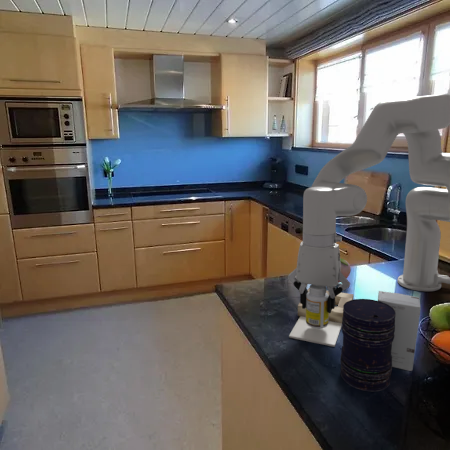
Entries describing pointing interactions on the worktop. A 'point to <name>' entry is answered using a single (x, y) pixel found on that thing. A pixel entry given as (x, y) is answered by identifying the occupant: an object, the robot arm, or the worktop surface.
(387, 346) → the dark blue cylinder
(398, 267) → the worktop surface
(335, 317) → the socket block
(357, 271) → the worktop surface
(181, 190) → the worktop surface
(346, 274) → the decorative fruit
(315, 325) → the supplement bottle
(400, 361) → the skincare box
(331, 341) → the pad
